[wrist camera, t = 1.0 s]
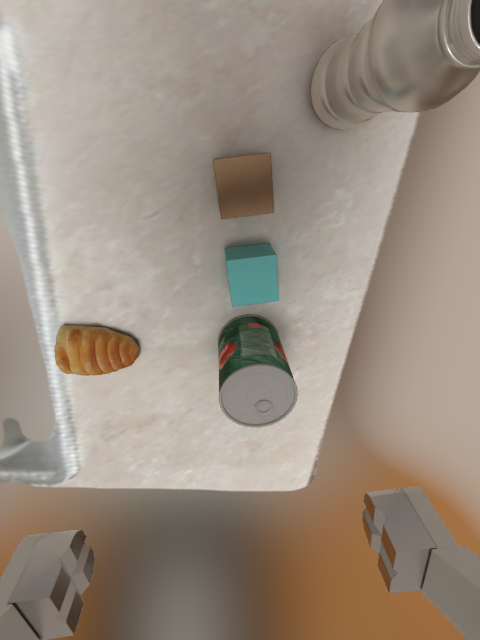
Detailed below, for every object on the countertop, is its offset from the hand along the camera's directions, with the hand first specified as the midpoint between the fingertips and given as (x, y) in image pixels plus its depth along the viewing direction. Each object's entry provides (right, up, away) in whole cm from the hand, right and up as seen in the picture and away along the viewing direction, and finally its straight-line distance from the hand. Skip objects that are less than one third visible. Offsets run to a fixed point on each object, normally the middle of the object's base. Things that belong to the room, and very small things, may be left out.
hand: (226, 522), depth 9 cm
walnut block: (0, +20, +24) cm, 31 cm away
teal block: (+1, +12, +28) cm, 31 cm away
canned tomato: (+1, +3, +33) cm, 33 cm away
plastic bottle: (+10, +28, +21) cm, 36 cm away
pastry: (-18, +3, +32) cm, 37 cm away
